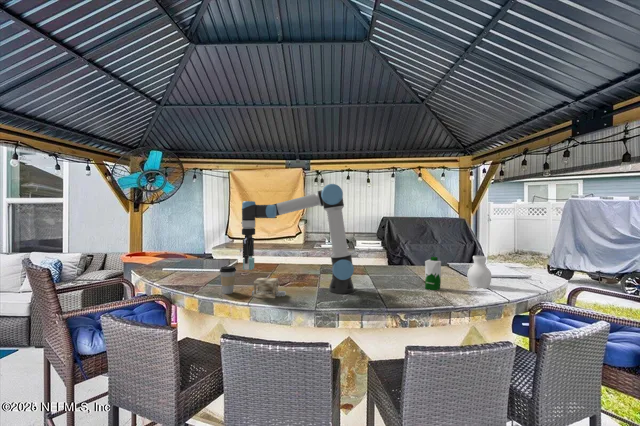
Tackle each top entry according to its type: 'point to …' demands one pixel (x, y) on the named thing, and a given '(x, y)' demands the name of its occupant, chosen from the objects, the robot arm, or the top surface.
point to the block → (251, 264)
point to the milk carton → (432, 274)
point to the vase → (479, 273)
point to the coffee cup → (227, 279)
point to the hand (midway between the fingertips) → (248, 268)
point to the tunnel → (266, 287)
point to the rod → (277, 293)
